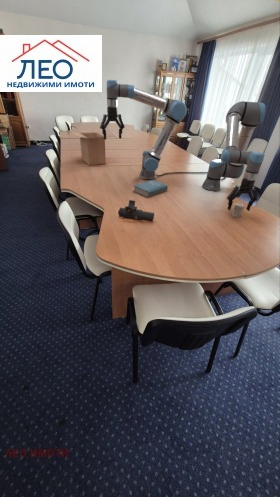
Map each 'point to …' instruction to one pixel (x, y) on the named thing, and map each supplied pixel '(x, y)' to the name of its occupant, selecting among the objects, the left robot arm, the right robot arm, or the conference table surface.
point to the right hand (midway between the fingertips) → (238, 209)
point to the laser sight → (135, 213)
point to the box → (92, 146)
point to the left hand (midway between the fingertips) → (112, 138)
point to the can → (238, 210)
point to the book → (150, 188)
